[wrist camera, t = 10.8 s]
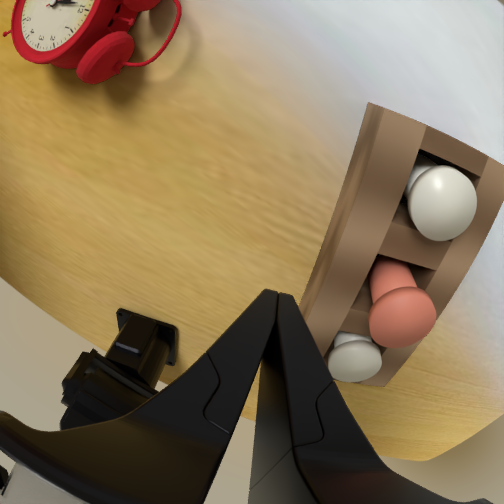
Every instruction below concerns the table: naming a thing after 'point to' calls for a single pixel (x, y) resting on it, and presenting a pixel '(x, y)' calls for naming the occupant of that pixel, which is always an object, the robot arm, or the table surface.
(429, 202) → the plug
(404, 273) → the red plug
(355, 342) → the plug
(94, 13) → the alarm clock
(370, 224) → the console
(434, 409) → the table surface
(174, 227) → the table surface
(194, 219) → the table surface
